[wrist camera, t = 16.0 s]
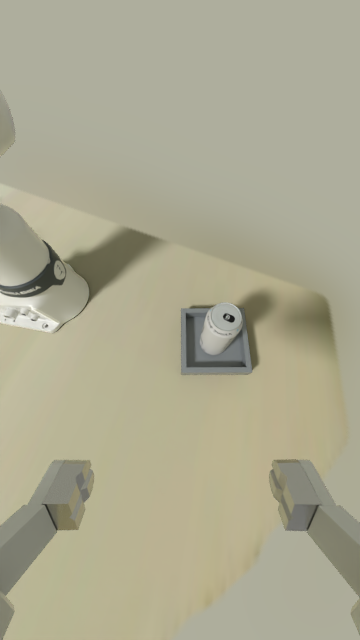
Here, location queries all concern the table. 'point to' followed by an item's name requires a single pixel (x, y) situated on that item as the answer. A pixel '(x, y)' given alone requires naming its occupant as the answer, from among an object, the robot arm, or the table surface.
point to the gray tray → (202, 363)
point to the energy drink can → (220, 328)
